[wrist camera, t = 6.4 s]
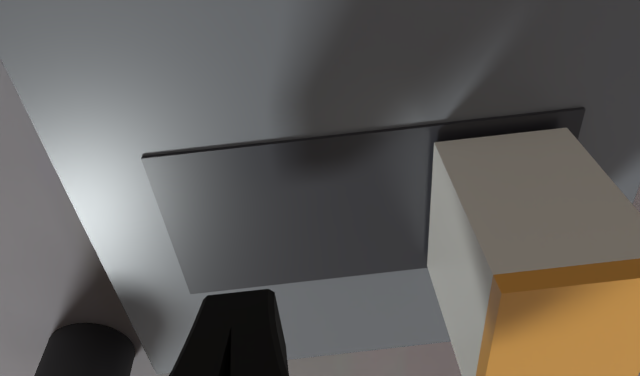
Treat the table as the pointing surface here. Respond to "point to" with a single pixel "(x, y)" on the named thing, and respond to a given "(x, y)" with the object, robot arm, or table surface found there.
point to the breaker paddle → (534, 258)
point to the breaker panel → (301, 141)
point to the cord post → (87, 352)
